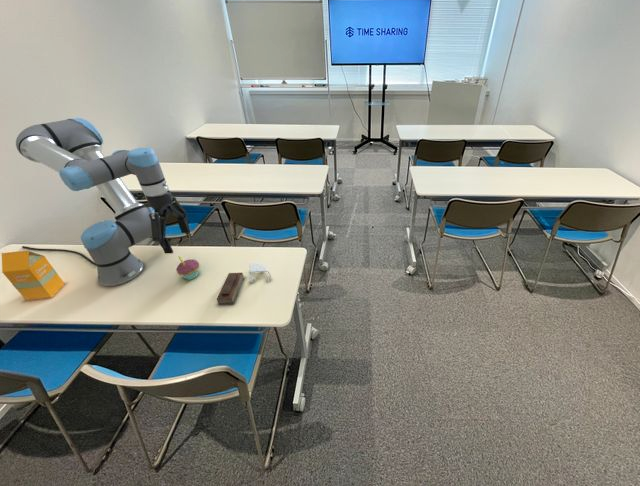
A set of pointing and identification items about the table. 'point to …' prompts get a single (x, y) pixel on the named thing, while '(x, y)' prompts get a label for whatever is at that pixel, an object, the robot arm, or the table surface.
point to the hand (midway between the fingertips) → (177, 242)
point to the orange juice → (31, 274)
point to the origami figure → (257, 270)
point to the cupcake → (188, 268)
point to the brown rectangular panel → (230, 288)
